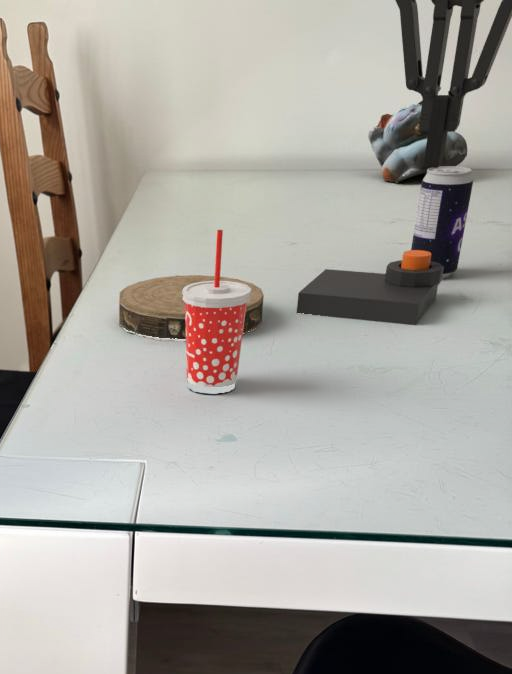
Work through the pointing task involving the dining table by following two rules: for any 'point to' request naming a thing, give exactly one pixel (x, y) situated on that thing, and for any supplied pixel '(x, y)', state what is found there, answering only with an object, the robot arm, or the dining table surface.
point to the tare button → (416, 260)
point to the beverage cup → (214, 327)
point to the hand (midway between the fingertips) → (432, 165)
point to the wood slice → (172, 306)
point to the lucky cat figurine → (409, 145)
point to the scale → (372, 294)
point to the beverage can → (443, 215)
